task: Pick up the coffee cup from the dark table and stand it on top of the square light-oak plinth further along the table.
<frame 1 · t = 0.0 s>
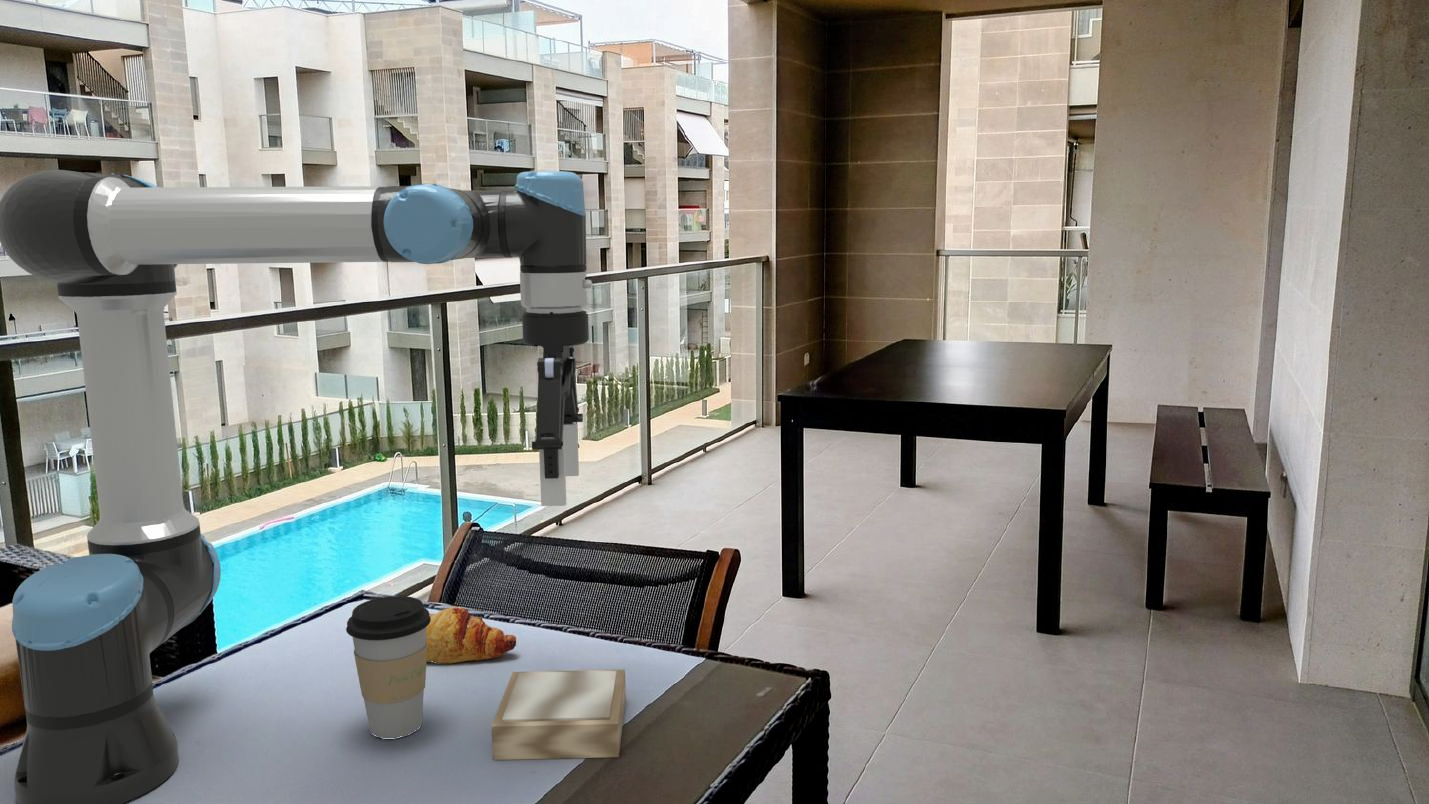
hand: (561, 489, 119), 28 cm above the table, tool pointing down, fingers open, 13 cm apart
coffee cup: (395, 729, 120), on the table
plinth: (563, 727, 120), on the table
croissant: (447, 653, 142), on the table
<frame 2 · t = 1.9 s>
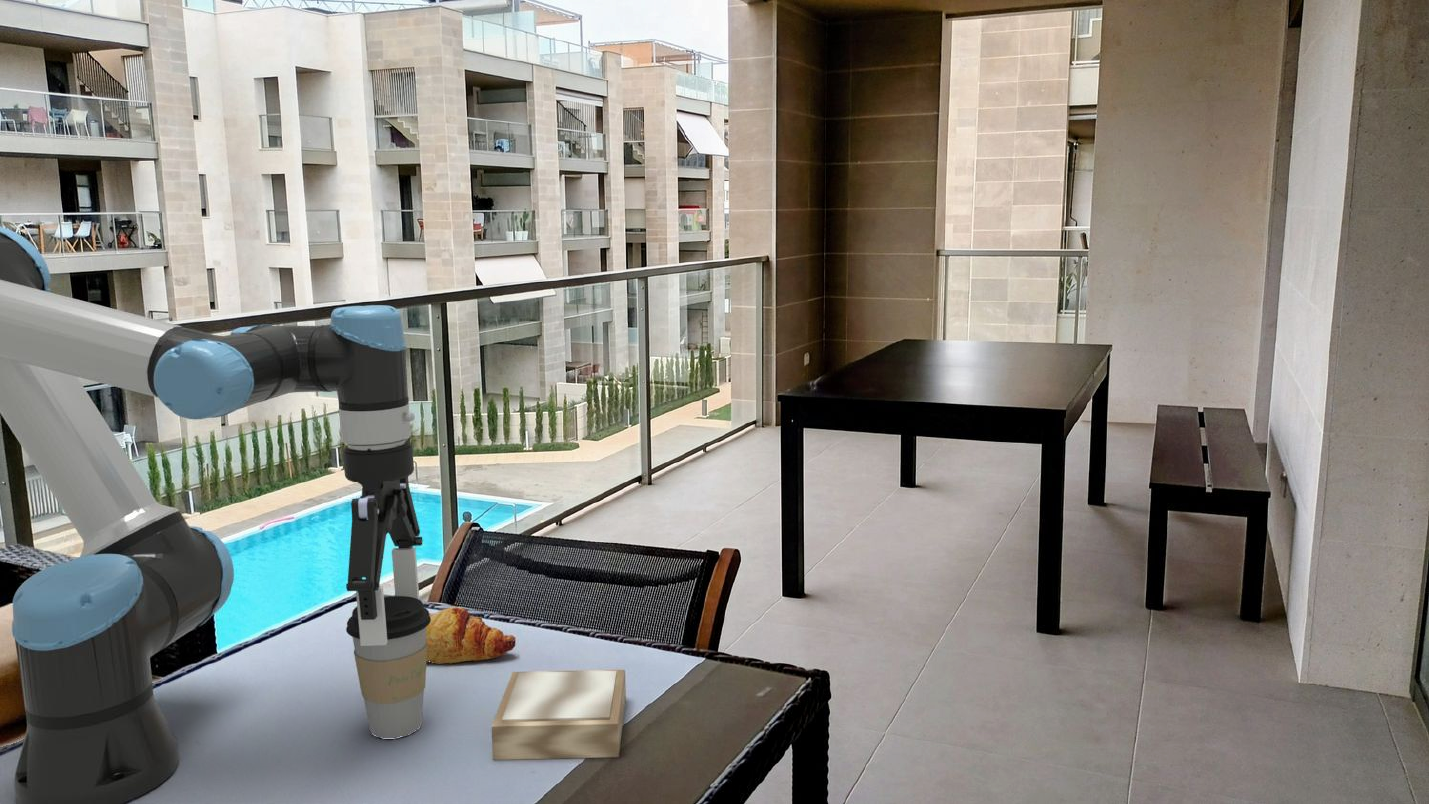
hand: (391, 621, 118), 13 cm above the table, tool pointing down, fingers open, 13 cm apart
nothing on the table moved.
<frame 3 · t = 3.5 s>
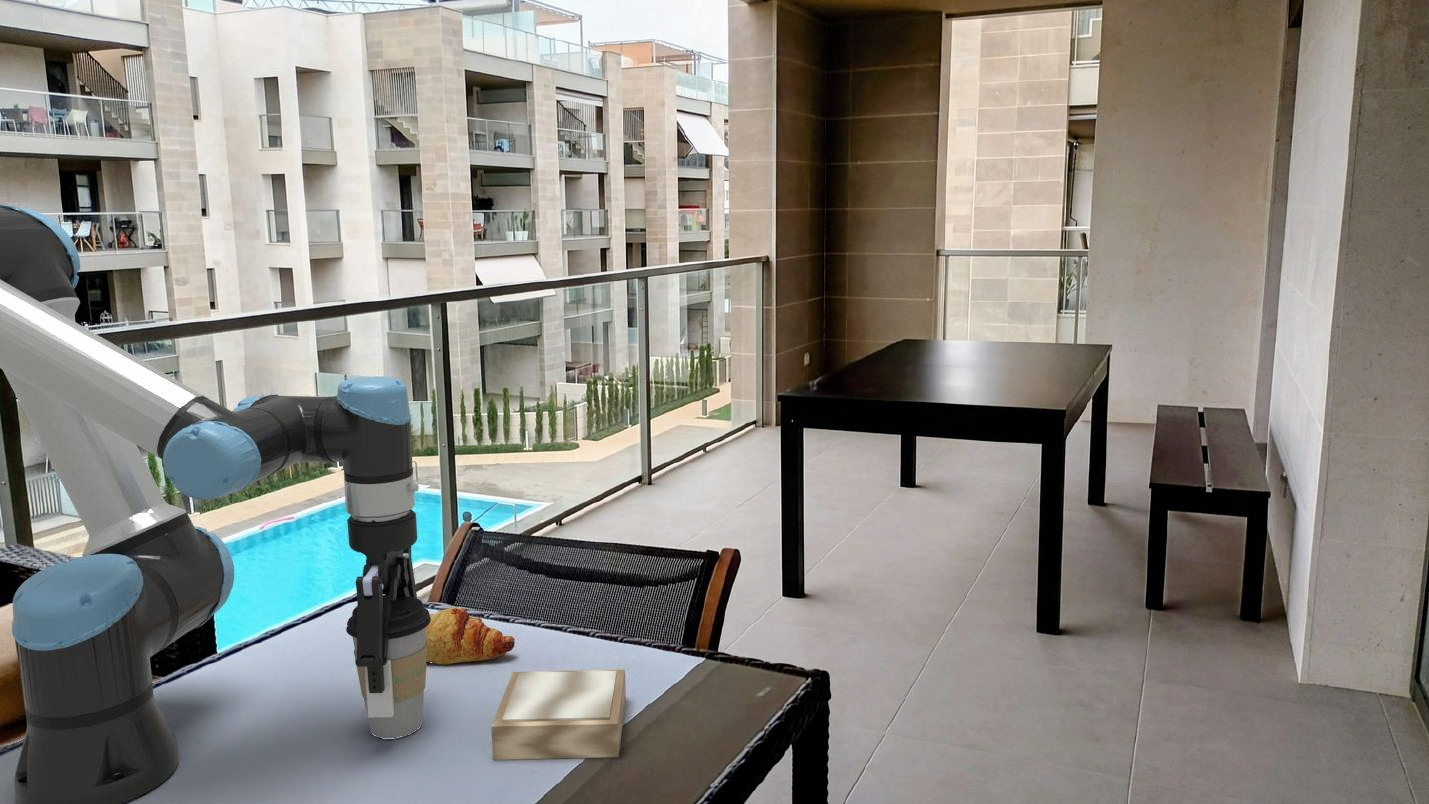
hand: (393, 695, 119), 4 cm above the table, tool pointing down, fingers closed on coffee cup, 9 cm apart
coffee cup: (396, 728, 120), on the table, touching gripper
everything else where it was.
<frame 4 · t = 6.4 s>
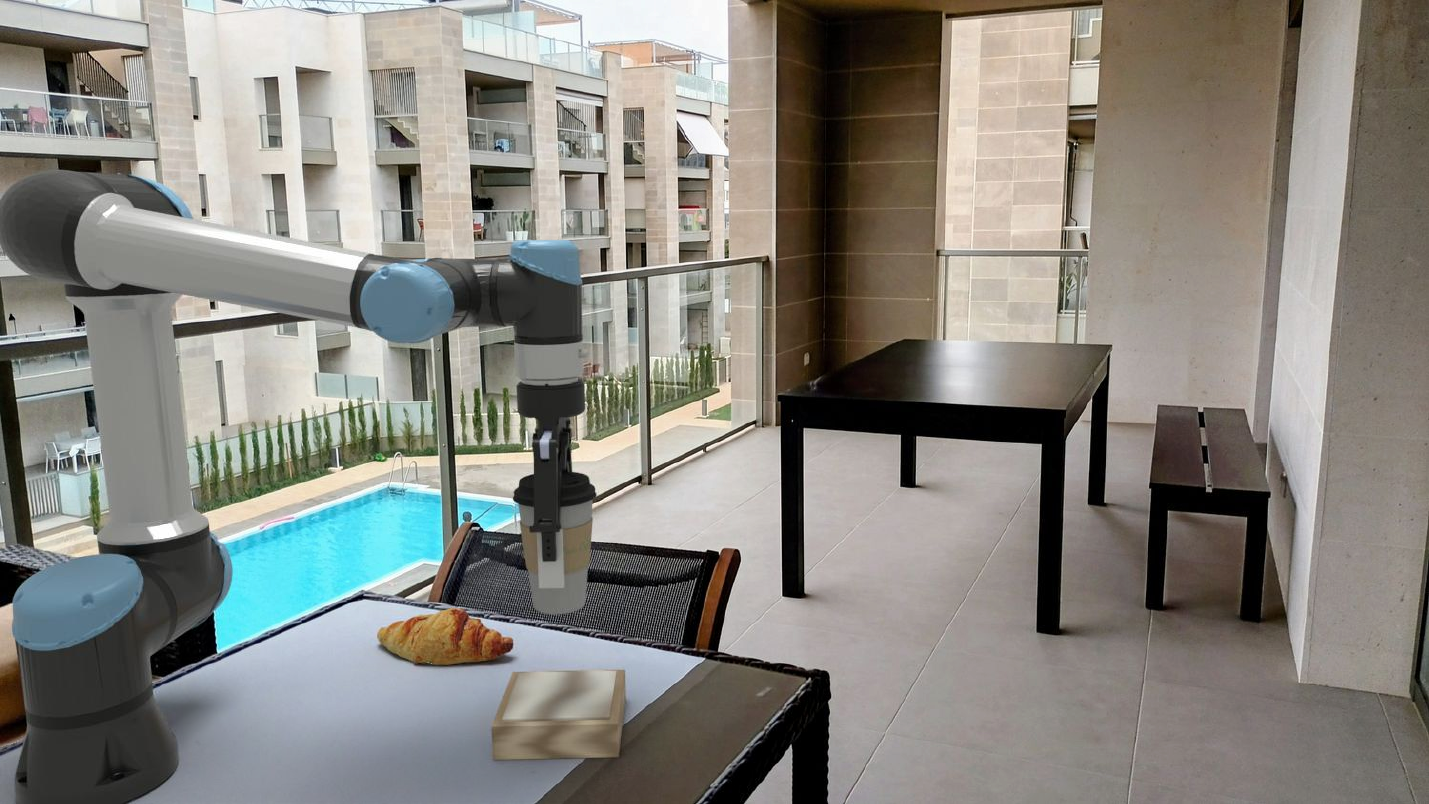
hand: (557, 571, 116), 19 cm above the table, tool pointing down, fingers closed on coffee cup, 9 cm apart
coffee cup: (559, 606, 117), point 15 cm above the table, touching gripper
everything else where it was.
when the fingers open (9 cm above the table, at t = 9.1 s): coffee cup stays where it is, resting on plinth.
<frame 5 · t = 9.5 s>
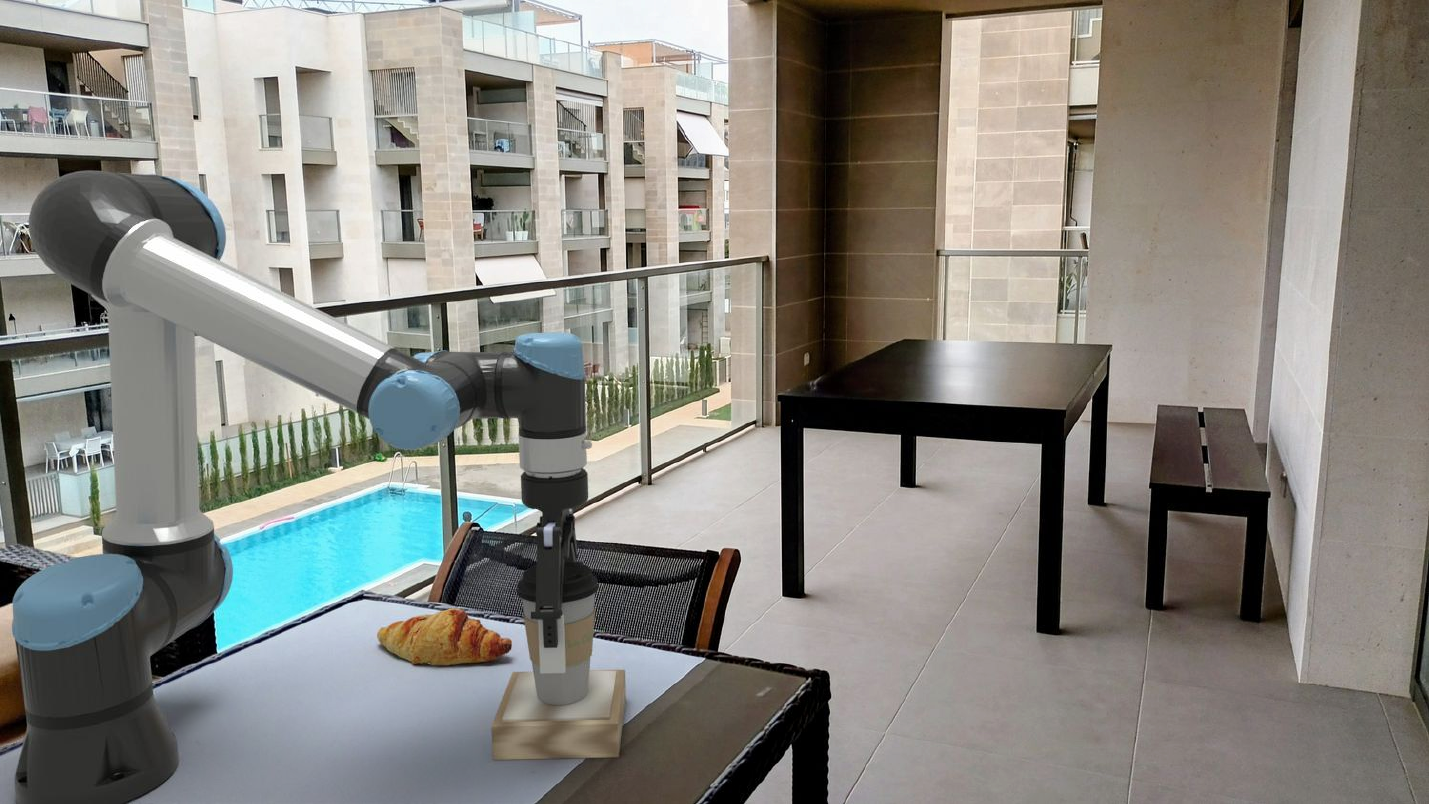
hand: (560, 646, 118), 10 cm above the table, tool pointing down, fingers open, 13 cm apart
coffee cup: (562, 695, 119), point 4 cm above the table, touching plinth
everything else where it was.
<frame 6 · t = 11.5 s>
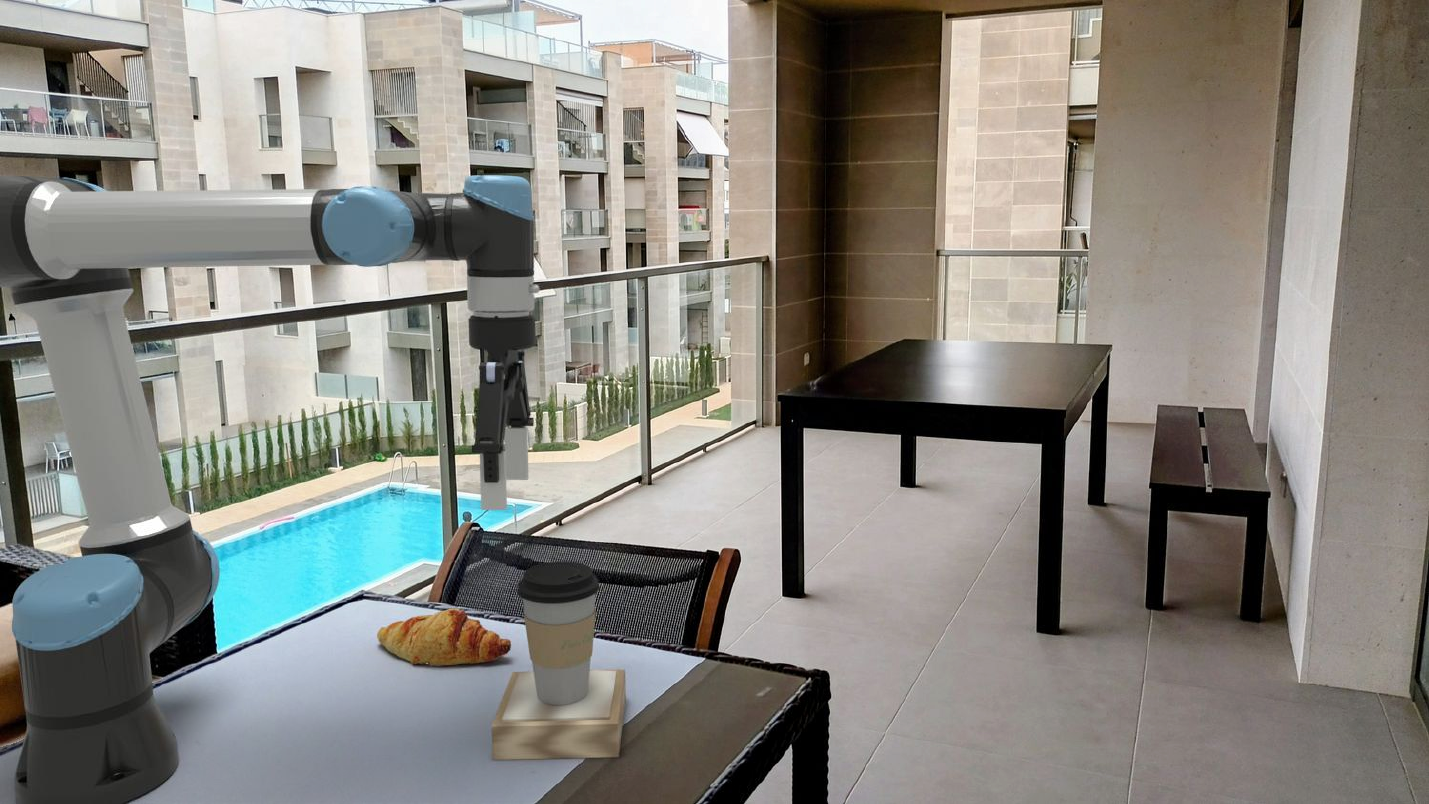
hand: (506, 493, 119), 28 cm above the table, tool pointing down, fingers open, 13 cm apart
nothing on the table moved.
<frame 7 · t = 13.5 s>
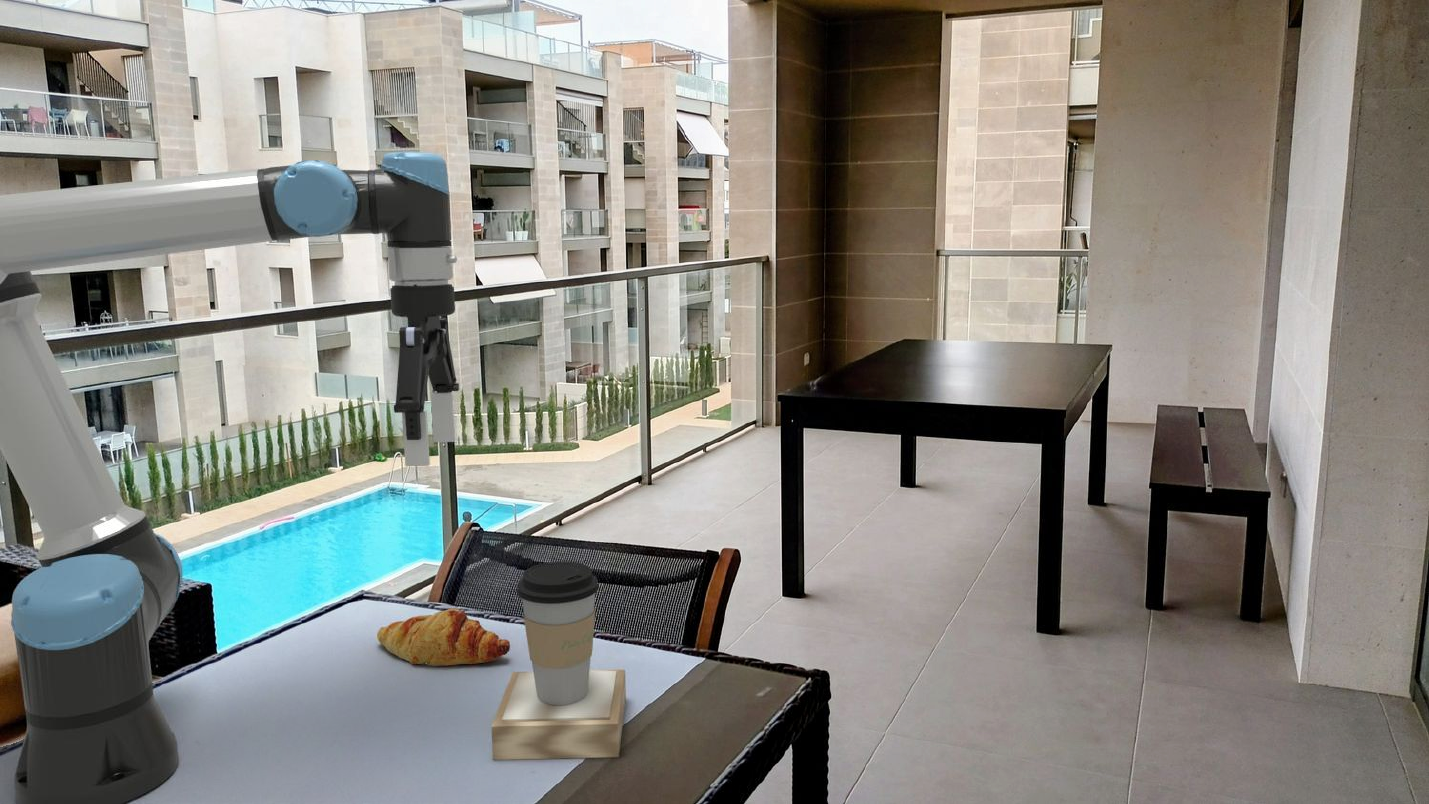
hand: (431, 453, 127), 31 cm above the table, tool pointing down, fingers open, 13 cm apart
nothing on the table moved.
at the end: coffee cup inside the target area on the plinth (0.0 cm from its centre), point 4.1 cm above the plinth's base; coffee cup tilted 0°; the gripper is holding nothing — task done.
